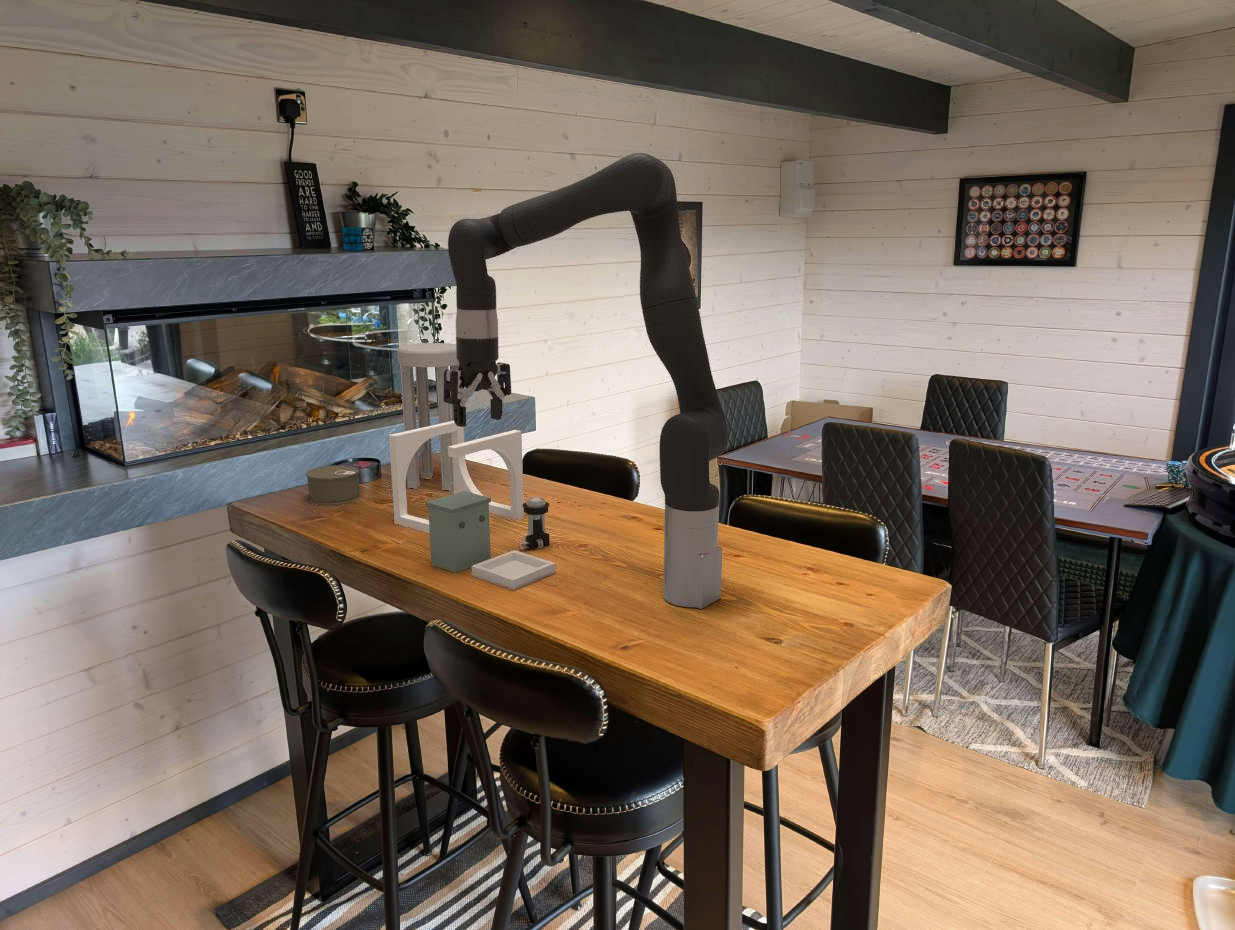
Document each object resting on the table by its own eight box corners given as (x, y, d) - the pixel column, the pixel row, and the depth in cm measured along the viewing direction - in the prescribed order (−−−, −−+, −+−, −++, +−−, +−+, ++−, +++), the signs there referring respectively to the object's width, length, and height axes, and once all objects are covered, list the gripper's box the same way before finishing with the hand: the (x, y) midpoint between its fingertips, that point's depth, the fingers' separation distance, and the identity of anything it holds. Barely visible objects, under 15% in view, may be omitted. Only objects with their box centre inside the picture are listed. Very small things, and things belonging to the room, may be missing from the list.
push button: (527, 554, 175) (526, 506, 172) (513, 547, 179) (511, 500, 176) (555, 547, 179) (554, 500, 177) (540, 540, 183) (539, 494, 180)
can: (325, 490, 219) (322, 463, 217) (369, 493, 216) (367, 466, 215) (298, 504, 207) (296, 476, 205) (345, 507, 205) (343, 479, 203)
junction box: (493, 559, 172) (490, 498, 169) (455, 573, 165) (452, 509, 162) (466, 551, 177) (464, 490, 174) (429, 564, 170) (425, 501, 166)
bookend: (523, 517, 198) (521, 430, 193) (458, 542, 182) (454, 448, 177) (460, 502, 209) (457, 419, 204) (394, 523, 194) (388, 435, 189)
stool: (396, 490, 218) (387, 349, 209) (420, 474, 233) (412, 342, 224) (456, 494, 216) (449, 351, 207) (476, 477, 230) (471, 343, 222)
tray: (555, 573, 165) (555, 563, 165) (513, 590, 157) (513, 580, 157) (514, 559, 172) (514, 550, 172) (471, 575, 164) (471, 565, 163)
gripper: (460, 339, 150) (462, 432, 155) (520, 333, 161) (521, 420, 165) (432, 335, 155) (435, 425, 159) (492, 329, 166) (493, 414, 170)
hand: (478, 422), depth 162 cm, fingers open, 8 cm apart
